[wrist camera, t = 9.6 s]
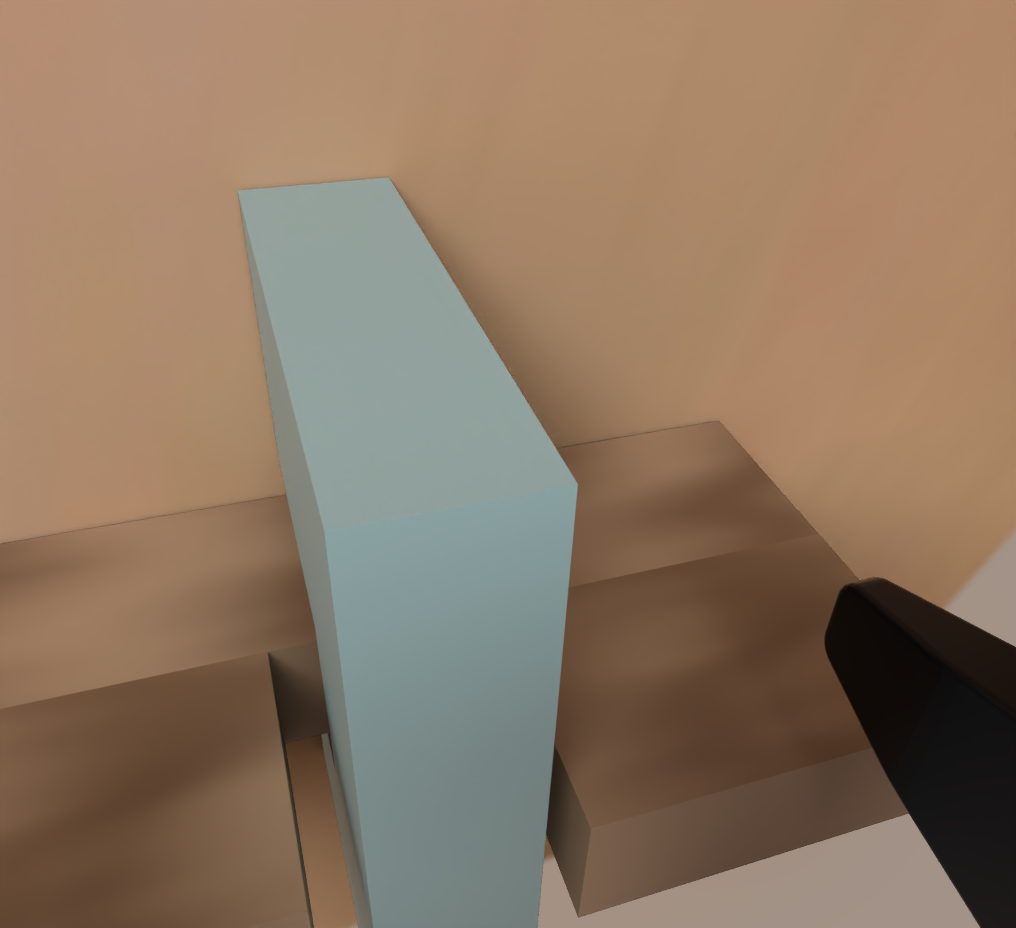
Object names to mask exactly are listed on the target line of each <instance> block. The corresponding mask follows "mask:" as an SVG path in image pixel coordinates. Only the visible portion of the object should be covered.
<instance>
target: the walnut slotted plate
mask: <svg viewBox="0 0 1016 928" xmlns="http://www.w3.org/2000/svg"><path fill="white" fill-rule="evenodd" d="M556 450H557V451H558V453H559V454H560V456H561V458H562V459H563V461H564V462H565V464H566V466H567V467H568V469H569V471H570V472H571V474H572V475H573V477H574V479H575V480H576V482H577V484H578V489H577V499H576V510H575V521H574V532H573V543H572V554H571V565H570V576H569V587H568V598H567V609H566V620H565V631H564V642H563V653H562V664H561V675H560V686H559V697H558V708H557V719H556V730H555V741H554V752H553V763H552V774H551V784H550V795H549V806H548V817H547V828H546V835H547V838H548V840H549V843H550V845H551V848H552V851H553V853H554V856H555V858H556V861H557V864H558V866H559V869H560V871H561V874H562V876H563V879H564V882H565V884H566V887H567V889H568V892H569V895H570V897H571V900H572V902H573V905H574V908H575V910H576V913H577V915H578V917H581V916H585V915H587V914H591V913H594V912H597V911H600V910H604V909H607V908H610V907H613V906H616V905H619V904H622V903H626V902H629V901H632V900H635V899H638V898H642V897H645V896H648V895H651V894H654V893H657V892H661V891H664V890H667V889H670V888H673V887H676V886H679V885H683V884H686V883H689V882H693V881H696V880H699V879H702V878H705V877H708V876H712V875H714V874H718V873H721V872H724V871H727V870H730V869H734V868H737V867H740V866H743V865H746V864H749V863H753V862H756V861H759V860H762V859H766V858H769V857H772V856H775V855H778V854H781V853H784V852H788V851H791V850H794V849H797V848H800V847H804V846H807V845H810V844H813V843H816V842H820V841H823V840H826V839H829V838H832V837H835V836H838V835H842V834H845V833H848V832H851V831H854V830H858V829H861V828H864V827H867V826H870V825H873V824H876V823H880V822H883V821H886V820H889V819H892V818H895V817H899V816H902V815H905V814H908V811H907V810H906V808H905V806H904V805H903V803H902V801H901V800H900V798H899V796H898V795H897V793H896V791H895V790H894V788H893V786H892V785H891V783H890V781H889V779H888V777H887V776H886V774H885V772H884V770H883V768H882V766H881V764H880V762H879V760H878V758H877V756H876V754H875V752H874V750H873V748H872V746H871V744H870V742H869V740H868V738H867V736H866V734H865V732H864V730H863V728H862V726H861V724H860V722H859V720H858V718H857V716H856V714H855V712H854V710H853V708H852V706H851V704H850V702H849V700H848V698H847V696H846V694H845V692H844V690H843V688H842V686H841V684H840V682H839V680H838V678H837V676H836V674H835V672H834V670H833V667H832V665H831V663H830V661H829V659H828V657H827V654H826V650H825V645H824V636H825V631H826V628H827V626H828V623H829V620H830V617H831V614H832V611H833V608H834V605H835V602H836V599H837V596H838V593H839V591H840V589H841V588H842V587H843V586H844V585H845V584H847V583H850V582H855V581H859V579H858V578H857V577H856V576H855V575H854V573H853V572H852V571H851V570H850V569H849V568H848V567H847V565H846V564H845V563H844V562H843V561H842V560H841V559H840V558H839V556H838V555H837V554H836V553H835V552H834V551H833V550H832V548H831V547H830V546H829V545H828V544H827V543H826V542H825V541H824V539H823V538H822V537H821V536H820V535H819V534H818V533H817V531H816V530H815V529H814V528H813V527H812V526H811V525H810V524H809V522H808V521H807V520H806V519H805V518H804V517H803V516H802V514H801V513H800V512H799V511H798V510H797V509H796V508H795V507H794V505H793V504H792V503H791V502H790V501H789V500H788V499H787V497H786V496H785V495H784V494H783V493H782V492H781V491H780V489H779V488H778V487H777V486H776V485H775V484H774V483H773V482H772V480H771V479H770V478H769V477H768V476H767V475H766V474H765V472H764V471H763V470H762V469H761V468H760V467H759V466H758V465H757V463H756V462H755V461H754V460H753V459H752V458H751V457H750V455H749V454H748V453H747V452H746V451H745V450H744V449H743V448H742V446H741V445H740V444H739V443H738V442H737V441H736V440H735V438H734V437H733V436H732V435H731V434H730V433H729V432H728V430H727V429H726V428H725V427H724V426H723V425H722V424H721V423H720V421H715V422H709V423H703V424H697V425H691V426H686V427H680V428H674V429H668V430H662V431H656V432H651V433H645V434H639V435H633V436H627V437H621V438H616V439H610V440H604V441H598V442H592V443H586V444H581V445H575V446H569V447H563V448H557V449H556ZM326 733H330V729H329V722H328V715H327V708H326V701H325V694H324V687H323V680H322V673H321V666H320V659H319V652H318V645H317V638H316V631H315V625H314V620H313V616H312V611H311V606H310V602H309V597H308V592H307V588H306V583H305V579H304V574H303V569H302V565H301V560H300V555H299V551H298V546H297V541H296V537H295V532H294V528H293V523H292V518H291V514H290V509H289V504H288V500H287V495H283V496H277V497H272V498H266V499H260V500H254V501H248V502H242V503H237V504H231V505H225V506H219V507H213V508H207V509H202V510H196V511H190V512H184V513H178V514H172V515H167V516H161V517H155V518H149V519H143V520H137V521H132V522H126V523H120V524H114V525H108V526H102V527H97V528H91V529H85V530H79V531H73V532H67V533H62V534H56V535H50V536H44V537H38V538H32V539H27V540H21V541H15V542H9V543H3V544H0V928H314V925H313V918H312V912H311V906H310V899H309V893H308V887H307V880H306V874H305V867H304V861H303V855H302V848H301V842H300V836H299V829H298V823H297V817H296V810H295V804H294V798H293V791H292V785H291V779H290V772H289V766H288V760H287V753H286V747H285V743H288V742H293V741H297V740H301V739H305V738H309V737H313V736H318V735H322V734H326Z"/></svg>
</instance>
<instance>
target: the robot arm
mask: <svg viewBox="0 0 1016 928" xmlns="http://www.w3.org/2000/svg"><path fill="white" fill-rule="evenodd" d="M824 645H825V650H826V654H827V657H828V659H829V661H830V663H831V665H832V667H833V670H834V672H835V674H836V676H837V678H838V680H839V682H840V684H841V686H842V688H843V690H844V692H845V694H846V696H847V698H848V700H849V702H850V704H851V706H852V708H853V710H854V712H855V714H856V716H857V718H858V720H859V722H860V724H861V726H862V728H863V730H864V732H865V734H866V736H867V738H868V740H869V742H870V744H871V746H872V748H873V750H874V752H875V754H876V756H877V758H878V760H879V762H880V764H881V766H882V768H883V770H884V772H885V774H886V776H887V777H888V779H889V781H890V783H891V785H892V786H893V788H894V790H895V791H896V793H897V795H898V796H899V798H900V800H901V801H902V803H903V805H904V806H905V808H906V810H907V811H908V813H909V814H910V816H911V817H912V819H913V821H914V822H915V824H916V825H917V827H918V829H919V830H920V832H921V834H922V835H923V837H924V838H925V840H926V841H927V843H928V845H929V846H930V848H931V849H932V851H933V853H934V854H935V856H936V858H937V859H938V861H939V862H940V864H941V865H942V867H943V869H944V870H945V872H946V874H947V875H948V877H949V878H950V880H951V881H952V883H953V885H954V886H955V888H956V889H957V891H958V893H959V894H960V896H961V897H962V899H963V901H964V902H965V904H966V906H967V907H968V909H969V910H970V912H971V913H972V915H973V917H974V918H975V920H976V922H977V923H978V925H979V926H980V928H1016V647H1015V646H1013V645H1011V644H1009V643H1007V642H1005V641H1003V640H1001V639H999V638H997V637H996V636H993V635H992V634H990V633H988V632H986V631H984V630H982V629H980V628H978V627H976V626H974V625H972V624H971V623H969V622H967V621H965V620H963V619H961V618H959V617H957V616H955V615H953V614H951V613H950V612H948V611H946V610H944V609H942V608H940V607H938V606H936V605H934V604H932V603H931V602H929V601H927V600H925V599H923V598H921V597H919V596H917V595H915V594H913V593H911V592H909V591H908V590H906V589H904V588H902V587H900V586H898V585H896V584H894V583H892V582H890V581H888V580H886V579H883V578H878V577H873V578H867V579H863V580H859V581H855V582H850V583H847V584H845V585H844V586H843V587H842V588H841V589H840V591H839V593H838V596H837V599H836V602H835V605H834V608H833V611H832V614H831V617H830V620H829V623H828V626H827V628H826V631H825V636H824Z"/></svg>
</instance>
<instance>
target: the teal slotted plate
mask: <svg viewBox="0 0 1016 928" xmlns="http://www.w3.org/2000/svg"><path fill="white" fill-rule="evenodd" d="M238 196H239V203H240V209H241V216H242V222H243V229H244V235H245V242H246V248H247V255H248V261H249V268H250V274H251V281H252V287H253V294H254V300H255V307H256V313H257V320H258V326H259V333H260V340H261V346H262V353H263V359H264V366H265V372H266V379H267V385H268V392H269V398H270V405H271V411H272V418H273V424H274V431H275V437H276V444H277V450H278V457H279V463H280V467H281V472H282V477H283V481H284V486H285V490H286V495H287V500H288V504H289V509H290V514H291V518H292V523H293V528H294V532H295V537H296V541H297V546H298V551H299V555H300V560H301V565H302V569H303V574H304V579H305V583H306V588H307V592H308V597H309V602H310V606H311V611H312V616H313V620H314V625H315V631H316V638H317V645H318V652H319V659H320V666H321V673H322V680H323V687H324V694H325V701H326V708H327V715H328V722H329V729H330V733H326V734H322V735H321V737H322V744H323V750H324V756H325V761H326V766H327V771H328V776H329V781H330V786H331V791H332V796H333V801H334V807H335V812H336V817H337V822H338V827H339V832H340V837H341V842H342V847H343V852H344V857H345V862H346V867H347V872H348V877H349V882H350V888H351V893H352V898H353V903H354V908H355V913H356V918H357V923H358V928H537V927H538V916H539V905H540V893H541V883H542V872H543V861H544V850H545V839H546V828H547V817H548V806H549V795H550V784H551V774H552V763H553V752H554V741H555V730H556V719H557V708H558V697H559V686H560V675H561V664H562V653H563V642H564V631H565V620H566V609H567V598H568V587H569V576H570V565H571V554H572V543H573V532H574V521H575V510H576V499H577V489H578V484H577V482H576V480H575V479H574V477H573V475H572V474H571V472H570V471H569V469H568V467H567V466H566V464H565V462H564V461H563V459H562V458H561V456H560V454H559V453H558V451H557V450H556V448H555V446H554V445H553V443H552V441H551V440H550V438H549V437H548V435H547V433H546V432H545V430H544V428H543V427H542V425H541V424H540V422H539V420H538V419H537V417H536V415H535V414H534V412H533V411H532V409H531V407H530V406H529V404H528V402H527V401H526V399H525V398H524V396H523V394H522V393H521V391H520V389H519V388H518V386H517V385H516V383H515V381H514V380H513V378H512V376H511V375H510V373H509V372H508V370H507V368H506V367H505V365H504V364H503V362H502V360H501V359H500V357H499V355H498V354H497V352H496V351H495V349H494V347H493V346H492V344H491V342H490V341H489V339H488V338H487V336H486V334H485V333H484V331H483V329H482V328H481V326H480V325H479V323H478V321H477V320H476V318H475V316H474V315H473V313H472V312H471V310H470V308H469V307H468V305H467V303H466V302H465V300H464V299H463V297H462V295H461V294H460V292H459V291H458V289H457V287H456V286H455V284H454V282H453V281H452V279H451V278H450V276H449V274H448V273H447V271H446V269H445V268H444V266H443V265H442V263H441V261H440V260H439V258H438V256H437V255H436V253H435V252H434V250H433V248H432V247H431V245H430V243H429V242H428V240H427V239H426V237H425V235H424V234H423V232H422V230H421V229H420V227H419V226H418V224H417V222H416V221H415V219H414V217H413V216H412V214H411V213H410V211H409V209H408V208H407V206H406V205H405V203H404V201H403V200H402V198H401V196H400V195H399V193H398V192H397V190H396V188H395V187H394V185H393V183H392V182H391V180H390V179H389V177H387V178H376V179H364V180H353V181H341V182H330V183H318V184H307V185H296V186H284V187H273V188H261V189H250V190H238Z"/></svg>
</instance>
